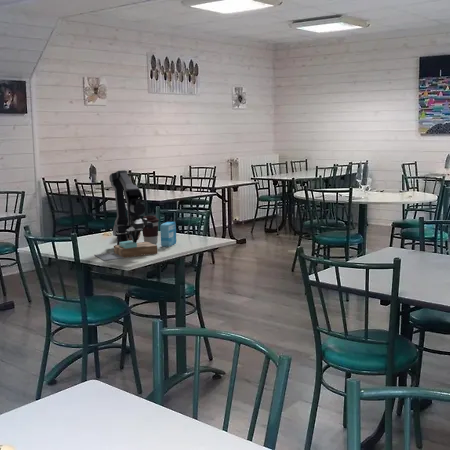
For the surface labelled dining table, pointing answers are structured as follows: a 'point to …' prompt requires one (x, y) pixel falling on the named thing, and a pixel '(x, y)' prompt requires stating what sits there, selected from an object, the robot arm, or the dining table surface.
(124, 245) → the teal foam pad
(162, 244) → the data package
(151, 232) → the coffee cup
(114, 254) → the mat
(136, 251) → the brown flat block
